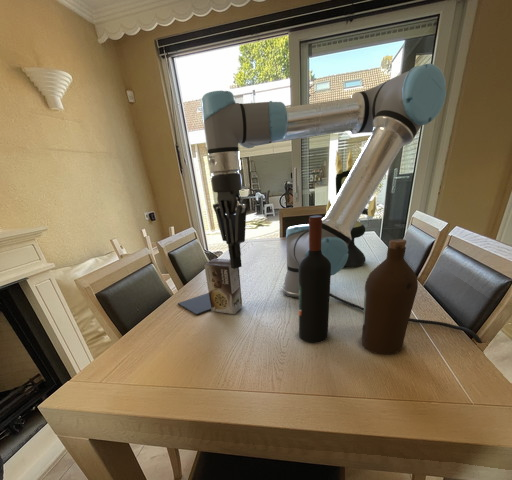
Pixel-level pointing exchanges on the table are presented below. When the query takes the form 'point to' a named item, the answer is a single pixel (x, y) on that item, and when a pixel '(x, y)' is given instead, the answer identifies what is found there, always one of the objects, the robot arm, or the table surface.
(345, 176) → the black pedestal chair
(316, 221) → the wine bottle
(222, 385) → the table surface
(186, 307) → the placemat
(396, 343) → the olive oil
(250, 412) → the table surface
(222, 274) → the coffee box
